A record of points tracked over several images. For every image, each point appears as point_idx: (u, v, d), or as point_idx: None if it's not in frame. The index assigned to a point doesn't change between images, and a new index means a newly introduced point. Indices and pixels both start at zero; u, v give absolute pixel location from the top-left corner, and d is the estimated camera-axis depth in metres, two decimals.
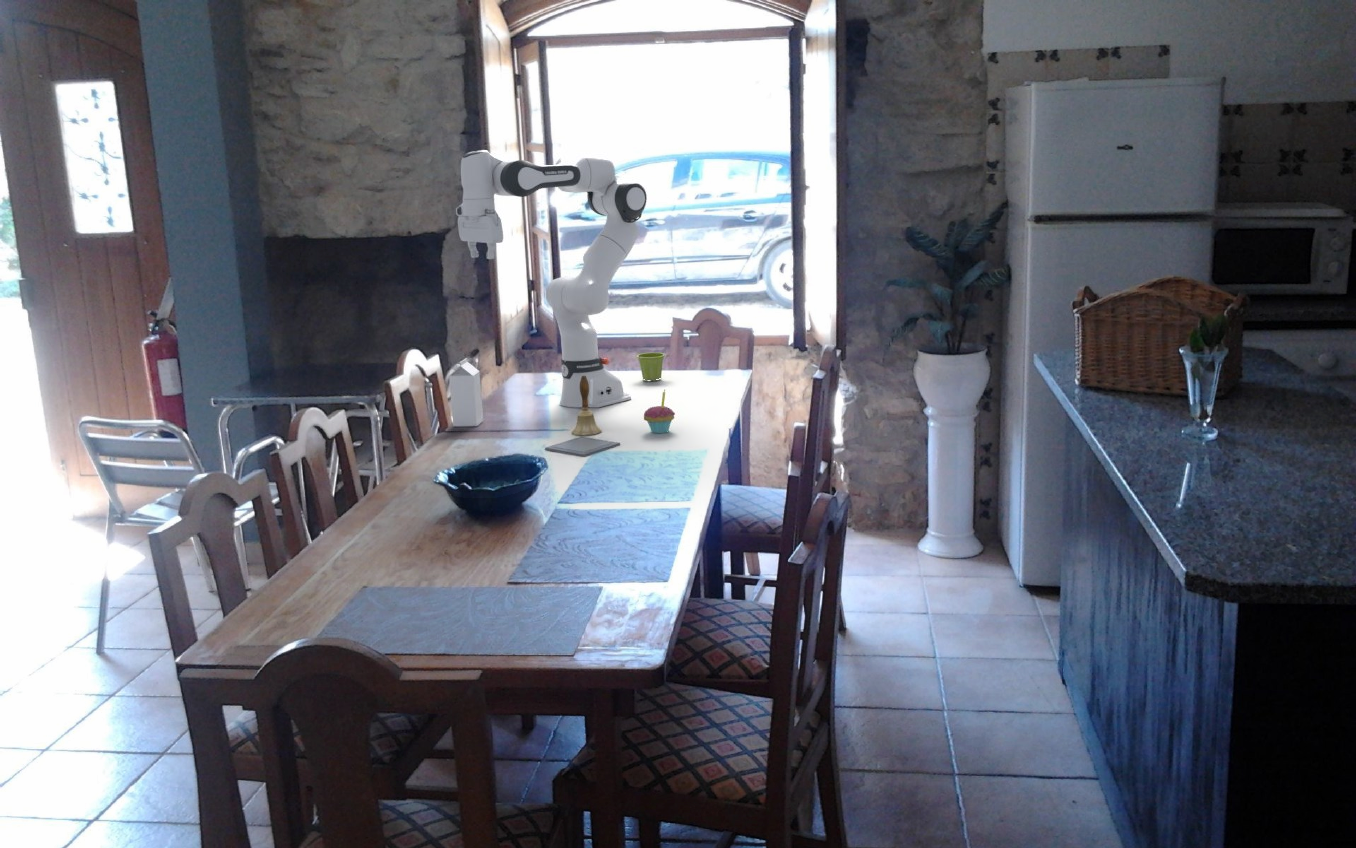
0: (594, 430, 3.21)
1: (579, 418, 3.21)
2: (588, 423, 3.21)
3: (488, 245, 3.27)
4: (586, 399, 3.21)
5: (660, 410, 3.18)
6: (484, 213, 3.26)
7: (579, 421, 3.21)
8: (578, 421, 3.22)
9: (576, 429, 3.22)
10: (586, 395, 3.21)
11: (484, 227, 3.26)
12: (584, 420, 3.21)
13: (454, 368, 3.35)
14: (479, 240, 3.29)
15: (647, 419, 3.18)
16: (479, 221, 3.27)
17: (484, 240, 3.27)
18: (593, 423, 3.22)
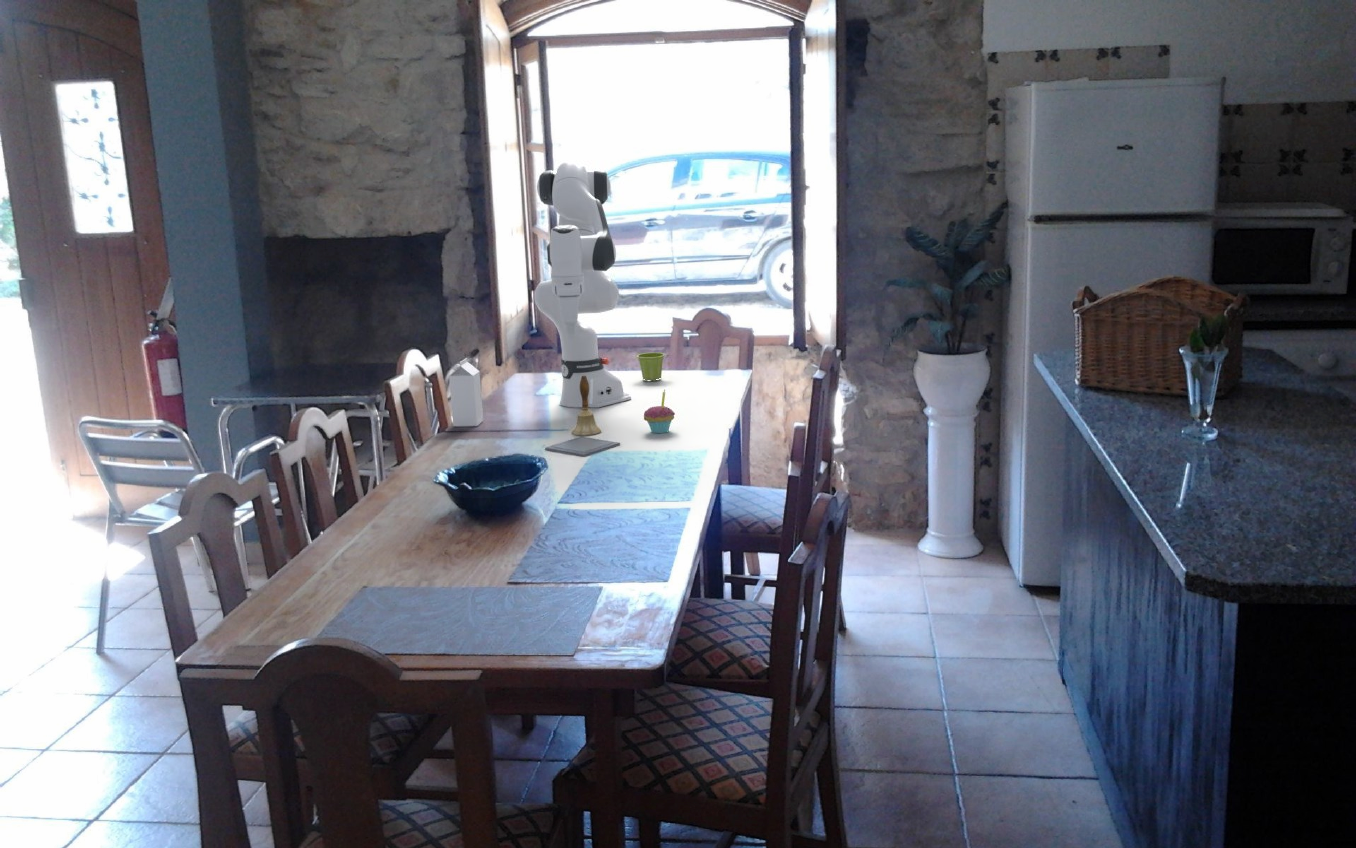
0: (594, 430, 3.21)
1: (579, 418, 3.21)
2: (588, 423, 3.21)
3: None
4: (586, 399, 3.21)
5: (660, 410, 3.18)
6: None
7: (579, 421, 3.21)
8: (578, 421, 3.22)
9: (576, 429, 3.22)
10: (586, 395, 3.21)
11: None
12: (584, 420, 3.21)
13: (454, 368, 3.35)
14: None
15: (647, 419, 3.18)
16: None
17: None
18: (593, 423, 3.22)
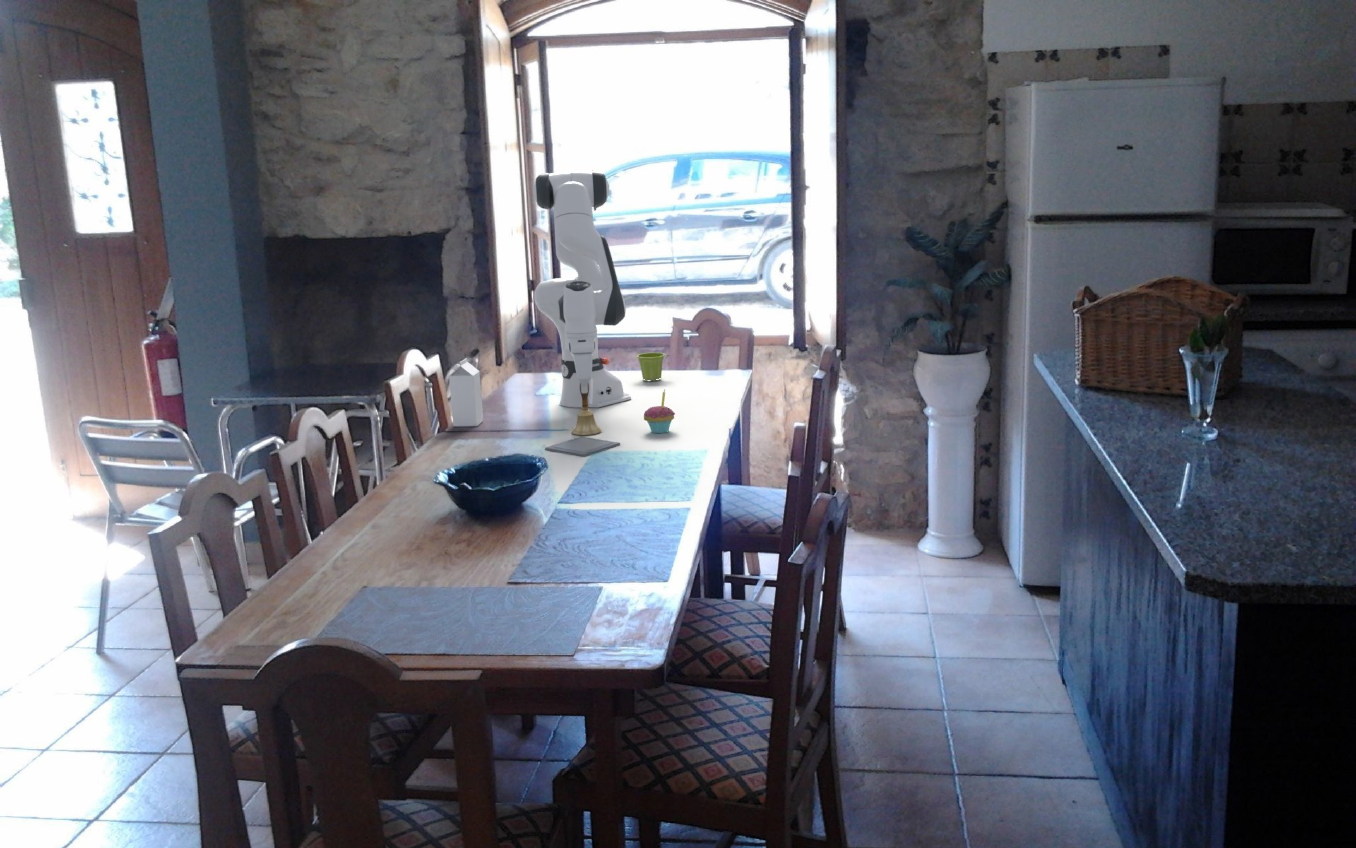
0: (594, 430, 3.21)
1: (579, 418, 3.21)
2: (588, 423, 3.21)
3: None
4: (586, 399, 3.21)
5: (660, 410, 3.18)
6: None
7: (579, 421, 3.21)
8: (578, 421, 3.22)
9: (576, 429, 3.22)
10: (586, 395, 3.21)
11: None
12: (584, 420, 3.21)
13: (454, 368, 3.35)
14: None
15: (647, 419, 3.18)
16: None
17: None
18: (592, 423, 3.22)
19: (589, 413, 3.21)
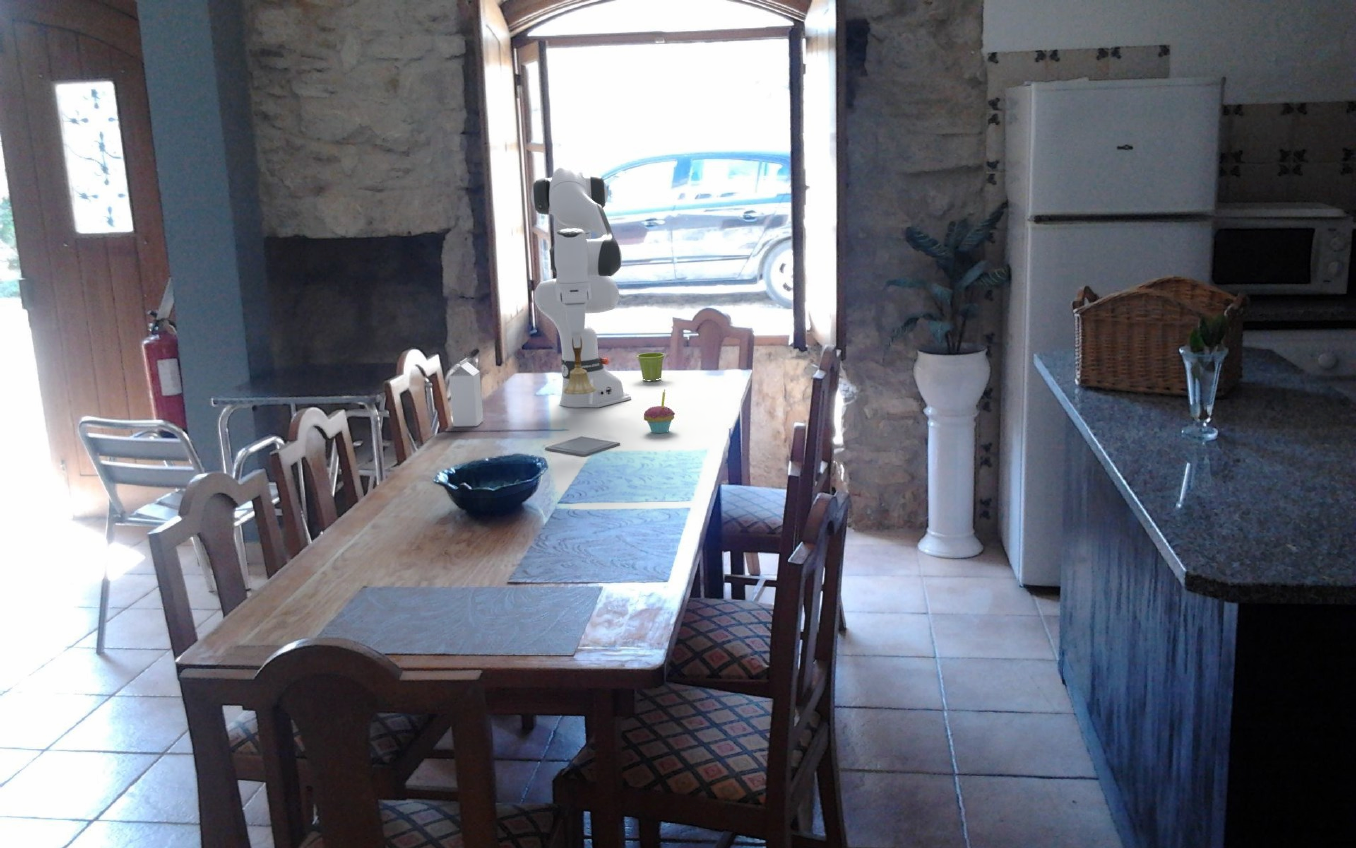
0: (588, 389, 3.01)
1: (572, 376, 3.01)
2: (581, 381, 3.01)
3: None
4: (579, 356, 3.01)
5: (660, 410, 3.18)
6: None
7: (572, 379, 3.01)
8: (570, 379, 3.02)
9: (568, 388, 3.02)
10: (579, 351, 3.01)
11: None
12: (577, 379, 3.01)
13: (454, 368, 3.35)
14: None
15: (647, 419, 3.18)
16: None
17: None
18: (586, 381, 3.02)
19: (582, 371, 3.01)
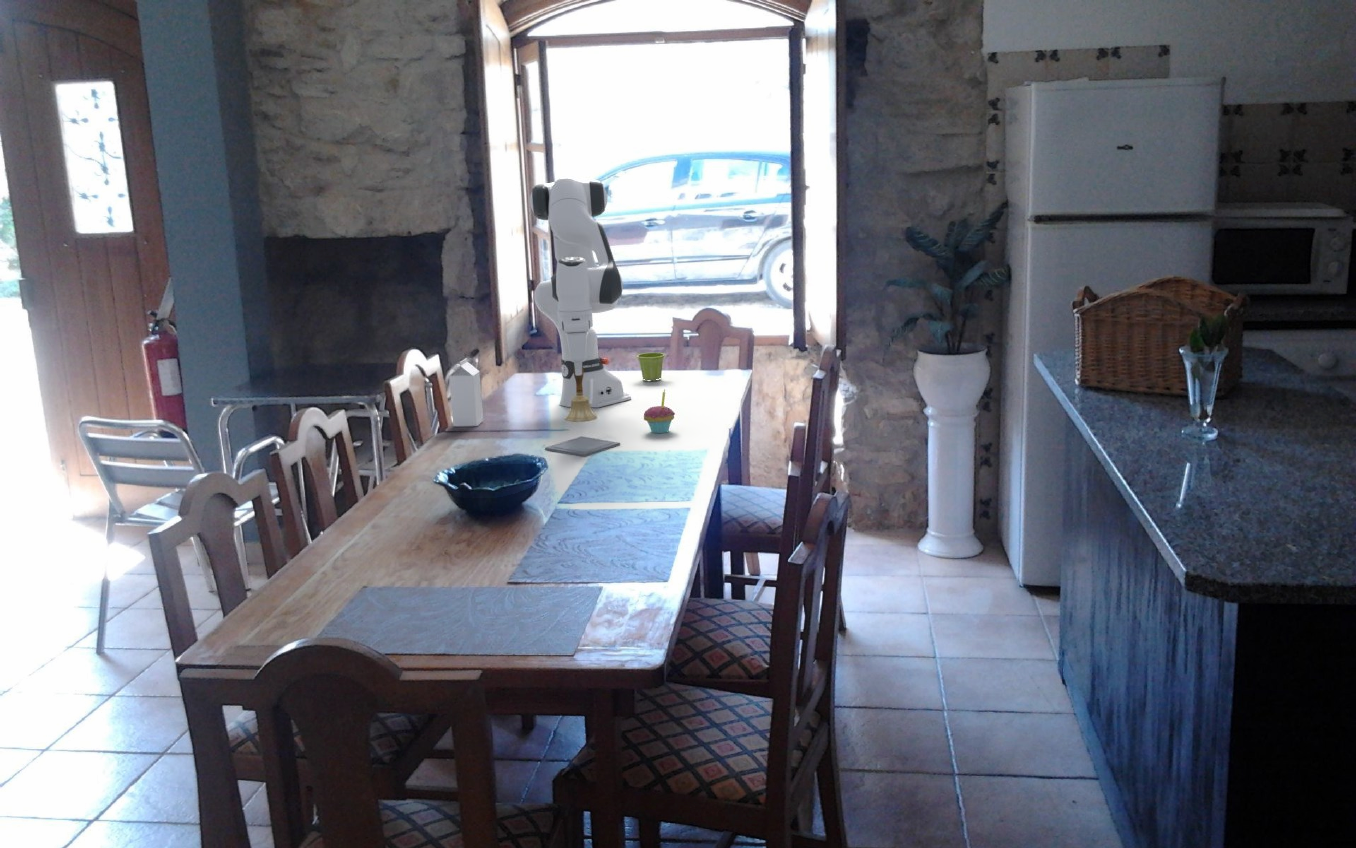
0: (589, 416, 3.03)
1: (573, 403, 3.03)
2: (583, 409, 3.02)
3: None
4: (580, 383, 3.03)
5: (660, 410, 3.18)
6: None
7: (573, 407, 3.03)
8: (572, 407, 3.03)
9: (570, 415, 3.03)
10: (580, 379, 3.02)
11: None
12: (578, 406, 3.02)
13: (454, 368, 3.35)
14: None
15: (647, 419, 3.18)
16: None
17: None
18: (588, 409, 3.03)
19: (584, 398, 3.03)
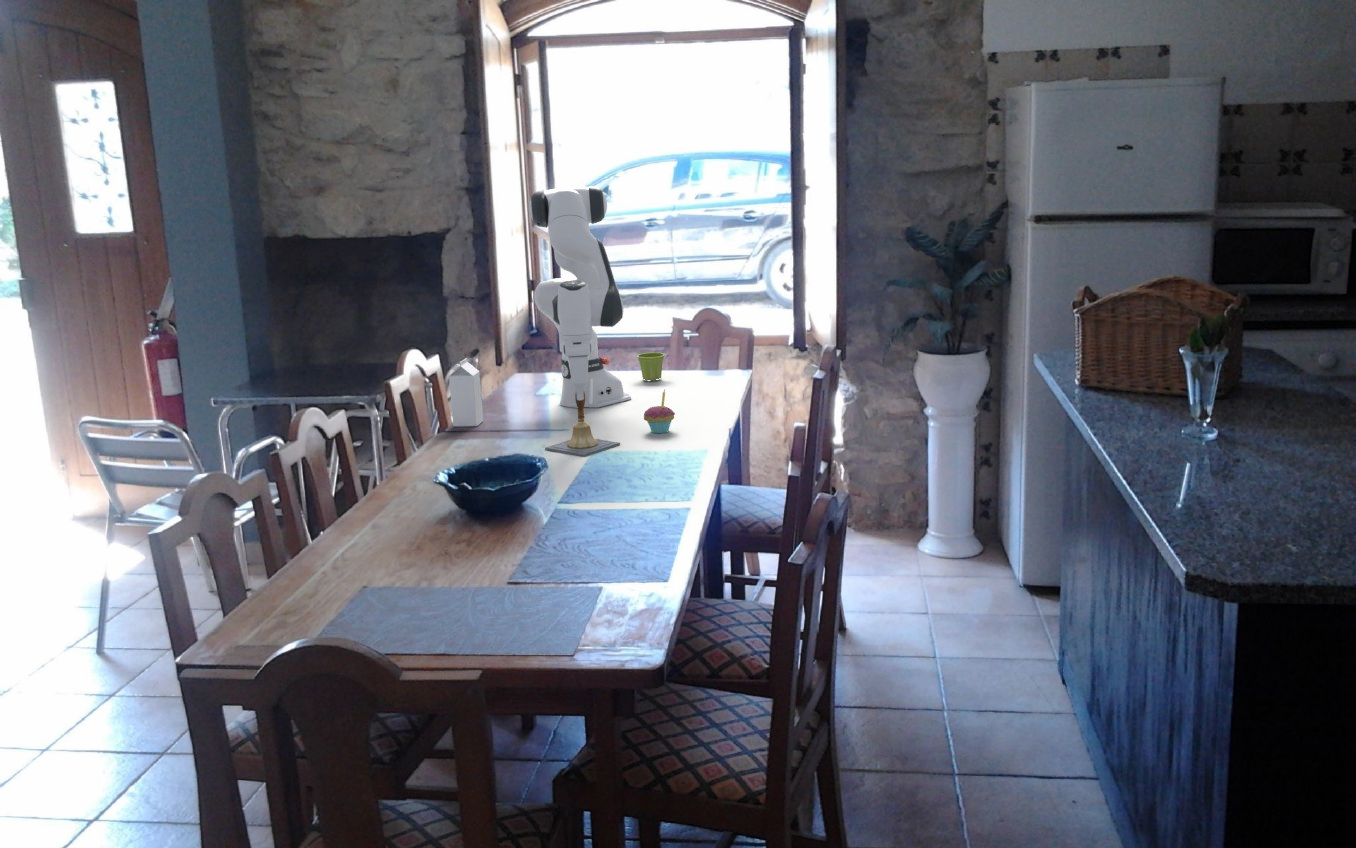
0: (591, 442, 3.04)
1: (575, 430, 3.05)
2: (584, 435, 3.04)
3: None
4: (582, 410, 3.05)
5: (660, 410, 3.18)
6: None
7: (575, 433, 3.05)
8: (573, 433, 3.05)
9: (572, 441, 3.05)
10: (582, 405, 3.04)
11: None
12: (580, 432, 3.04)
13: (454, 368, 3.35)
14: None
15: (647, 419, 3.18)
16: None
17: None
18: (589, 435, 3.05)
19: (585, 425, 3.05)
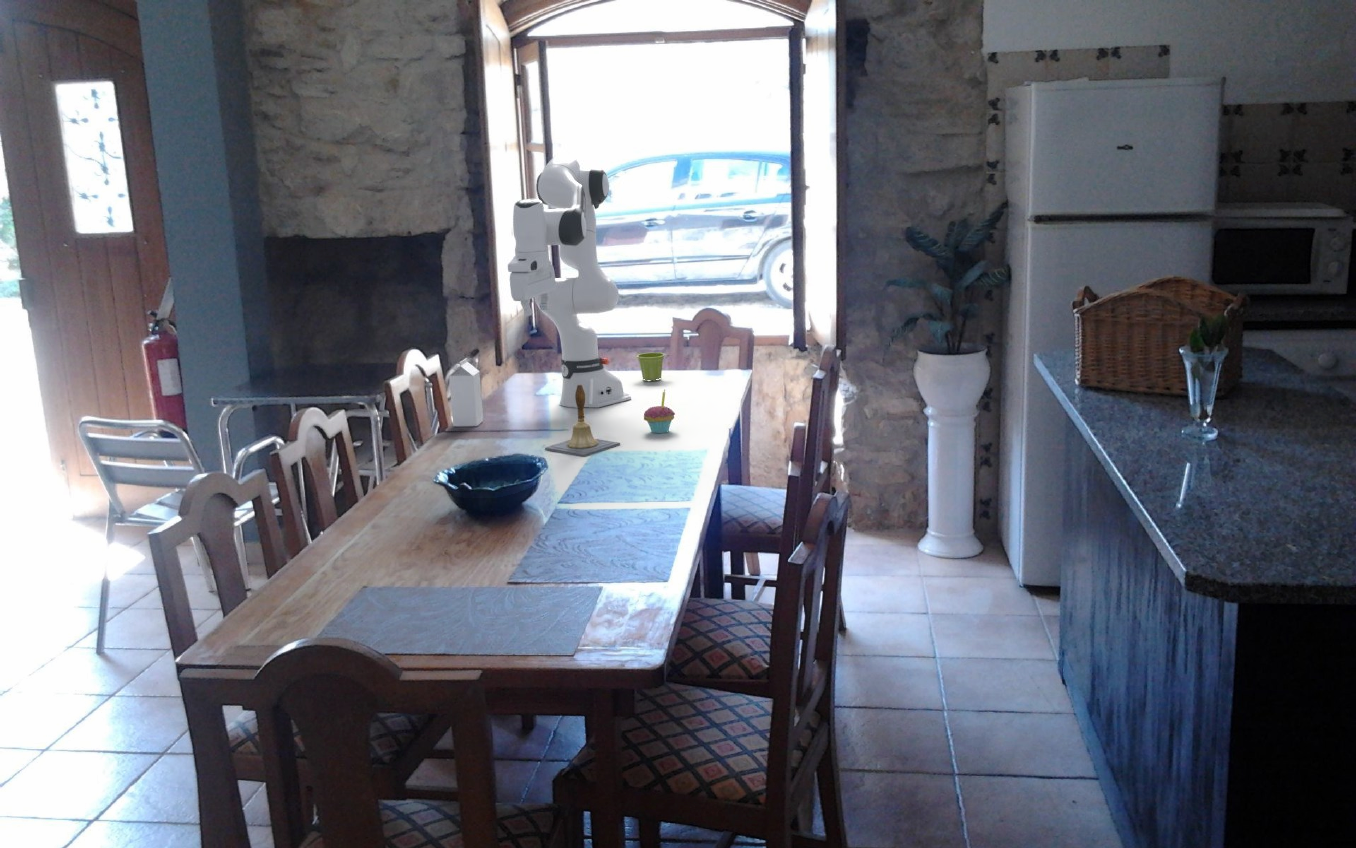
0: (591, 442, 3.04)
1: (575, 430, 3.05)
2: (584, 435, 3.04)
3: (548, 295, 3.17)
4: (582, 410, 3.05)
5: (660, 410, 3.18)
6: None
7: (575, 433, 3.05)
8: (573, 433, 3.05)
9: (572, 441, 3.05)
10: (582, 405, 3.04)
11: (547, 276, 3.15)
12: (580, 432, 3.04)
13: (454, 368, 3.35)
14: (544, 292, 3.13)
15: (647, 419, 3.18)
16: (544, 272, 3.13)
17: (549, 290, 3.16)
18: (589, 435, 3.05)
19: (585, 425, 3.05)
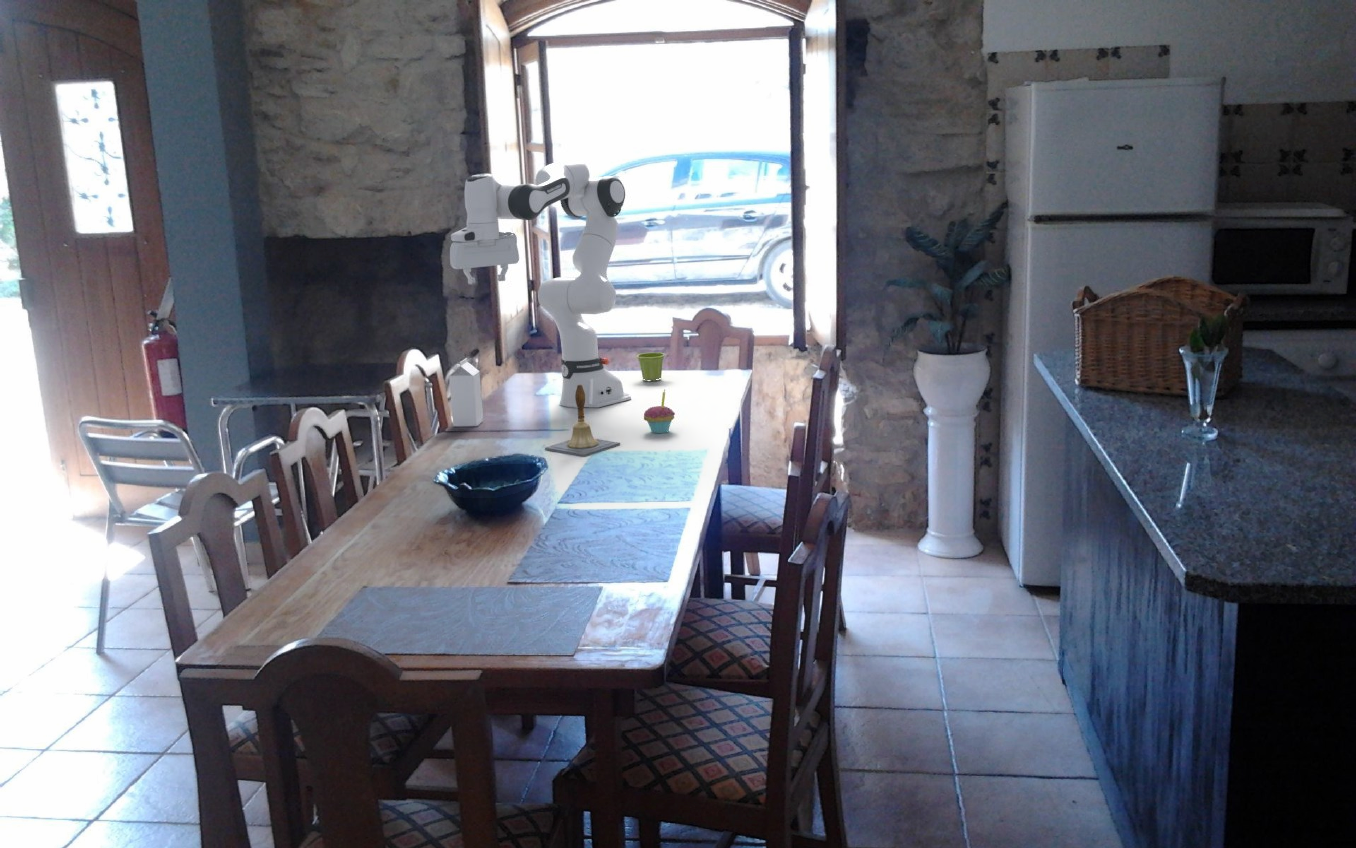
0: (591, 442, 3.04)
1: (575, 430, 3.05)
2: (584, 435, 3.04)
3: (506, 267, 3.31)
4: (582, 410, 3.05)
5: (660, 410, 3.18)
6: None
7: (575, 433, 3.05)
8: (573, 433, 3.05)
9: (572, 441, 3.05)
10: (582, 405, 3.04)
11: (504, 249, 3.29)
12: (580, 432, 3.04)
13: (454, 368, 3.35)
14: (495, 263, 3.28)
15: (647, 419, 3.18)
16: (496, 244, 3.27)
17: (504, 262, 3.30)
18: (589, 435, 3.05)
19: (585, 425, 3.05)
